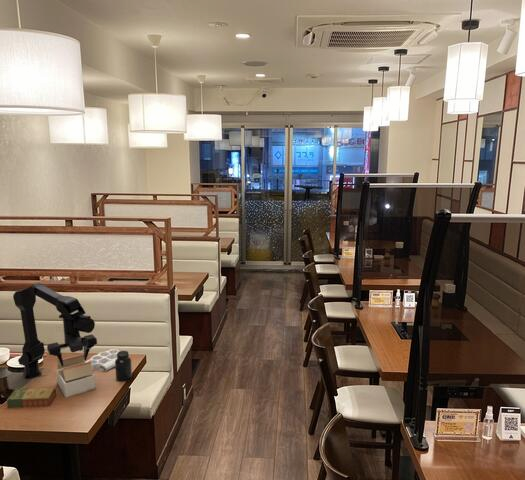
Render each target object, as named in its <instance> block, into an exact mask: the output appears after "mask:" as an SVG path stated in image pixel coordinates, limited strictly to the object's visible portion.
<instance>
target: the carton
mask: <svg viewBox="0 0 525 480" xmlns="http://www.w3.org/2000/svg"><path fill="white" fill-rule="evenodd" d="M56 389H57V388H56V386H48V387H46V386H45V387H30V388H29V387H28V388H27V387H25V388H15V389H14V390H13V391H12V393H11V394H10V395H9V397H8V398H7V399H6V406H7V408H11V409H12V408H31V407H50V406H51V405H52V403H53V401H54V400H55V398H56V397H57V390H56Z"/></svg>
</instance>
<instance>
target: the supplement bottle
mask: <svg viewBox="0 0 525 480" xmlns="http://www.w3.org/2000/svg"><path fill="white" fill-rule="evenodd" d="M114 368H115V379H116V381H118V382H127V381H130V379H131V378H132V377H133V374H132V373H133V371H132V359H131V357H130V355H129V352H128V350H121V351H120V350H119V352H118V353H117V359H116V360H115V367H114Z"/></svg>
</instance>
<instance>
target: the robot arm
mask: <svg viewBox="0 0 525 480" xmlns="http://www.w3.org/2000/svg"><path fill="white" fill-rule="evenodd" d="M37 297H38V298H40V299H42V300H43V301H45V302H48V303H49V304H51V305H53V306H54V307H55V309H56V311H58V312H59V313H60V315H58V318H59V319H62V323H63V324H62V325H63V335H64V343H61V344H59V343H58V342H53V343H49V344H47V346H46V347H47V348H46V349H47V352H48V354H49V355H50V356H53V357H57V360H59V361H60V363H61V365H62V367H63V360H62V359H63V356H62V350H64V349H68V348H69V351H70V352H71V353H76V352H79V351H80V352H81V351H83V354H84V362H86V361H87V360H88V356H89V352H90V350H91V349H92V348H93V347H95V345H97V344H98V339H97V337H96V336H95V335H93V334H90V333H92V332H93V331H94V329H95V325H96V324H95V323H96V322H95V321H94V319H92V318H91V315H86V311H85V309H84V307H83V306H82V305H81V303H80V301H79V300H78V299H77V298H76V297H73V296H71V295H68V296H67V295H62V294H60V293H58V292H57V291H54V290H52V289H50V288H48V287H47V286H45V285H44V284H43V283H40V282H39V283H38V282H37V283H36V284H35V283H34V284H32V285H30V286H28V287H26V288H23V289H19V290H16V291H15V292H14V294H13V295H12V298H13V302H14V304H15V306H16V307H17V308H18V309H19V310H20V317H21V323H22V329H23V337H24V343H23V346H22V353H21V354H22V355H21V356H20V357H19V358H18V359H17V361H18V364H19V365H21V366H23V367H24V372H22V374H23V376H24V379H26V380H27V379H31V378H35V377H38V376H42V372H41V370H40V364H39V360H43V357H44V354H45V351H46V349H45V343H44V342H42V341H40V340H39V339H38V338H39V337H38V331H37V326H36V325H37V324H36V319H35V318H36V317H35V312H34V307H35V305H36V302H37ZM80 332H82V333H86V334H88V335H84V336H81V334H80Z"/></svg>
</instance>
